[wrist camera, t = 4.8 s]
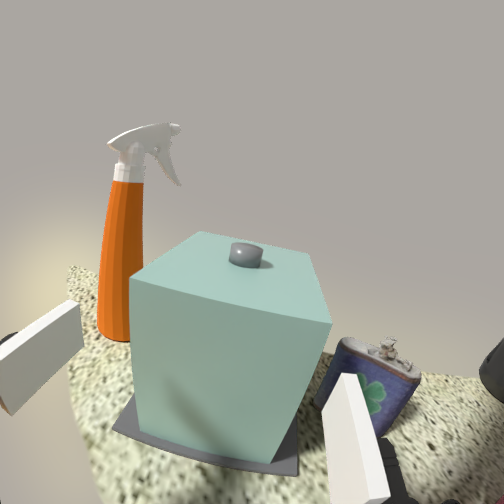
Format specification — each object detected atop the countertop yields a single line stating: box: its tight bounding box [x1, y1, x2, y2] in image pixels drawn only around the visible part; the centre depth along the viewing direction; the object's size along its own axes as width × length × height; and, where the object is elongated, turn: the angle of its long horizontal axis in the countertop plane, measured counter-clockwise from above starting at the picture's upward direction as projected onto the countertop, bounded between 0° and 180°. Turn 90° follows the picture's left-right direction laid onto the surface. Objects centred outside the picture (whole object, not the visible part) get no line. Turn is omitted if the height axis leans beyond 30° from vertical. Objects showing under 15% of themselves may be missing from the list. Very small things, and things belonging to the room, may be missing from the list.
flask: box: [313, 336, 422, 438], centre depth 22 cm, size 9×3×11 cm, turn 47°
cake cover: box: [129, 231, 332, 464], centre depth 22 cm, size 11×14×16 cm
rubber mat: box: [112, 393, 297, 477], centre depth 24 cm, size 16×16×1 cm
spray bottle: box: [97, 123, 181, 341], centre depth 30 cm, size 7×11×26 cm, turn 139°
